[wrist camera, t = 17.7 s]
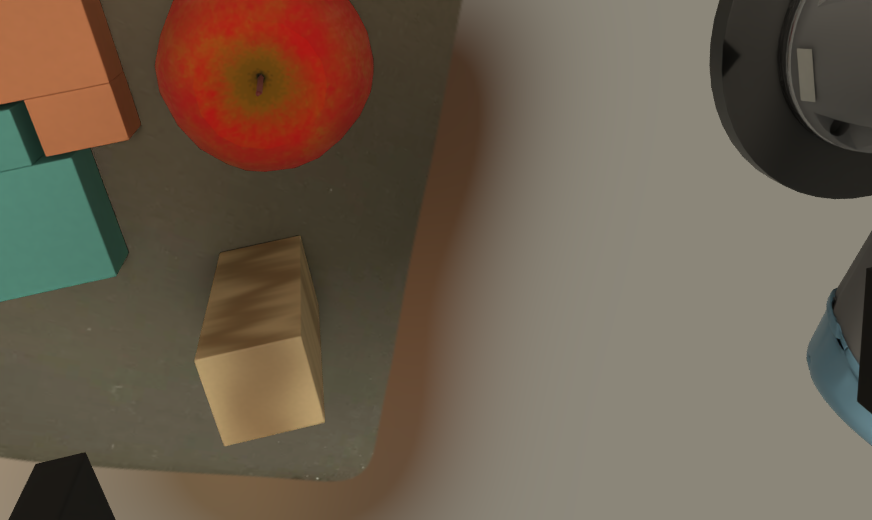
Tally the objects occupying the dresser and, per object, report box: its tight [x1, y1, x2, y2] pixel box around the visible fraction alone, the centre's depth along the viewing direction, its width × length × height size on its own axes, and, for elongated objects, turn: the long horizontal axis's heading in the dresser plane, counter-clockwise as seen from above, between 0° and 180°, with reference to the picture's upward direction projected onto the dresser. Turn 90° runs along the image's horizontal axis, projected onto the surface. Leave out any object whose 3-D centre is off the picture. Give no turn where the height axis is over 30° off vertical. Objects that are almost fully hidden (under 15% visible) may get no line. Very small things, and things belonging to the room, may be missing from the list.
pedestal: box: [194, 236, 325, 446], centre depth 43 cm, size 5×5×13 cm
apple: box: [155, 0, 374, 172], centre depth 38 cm, size 11×11×11 cm
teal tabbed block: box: [0, 100, 128, 302], centre depth 42 cm, size 7×10×4 cm
